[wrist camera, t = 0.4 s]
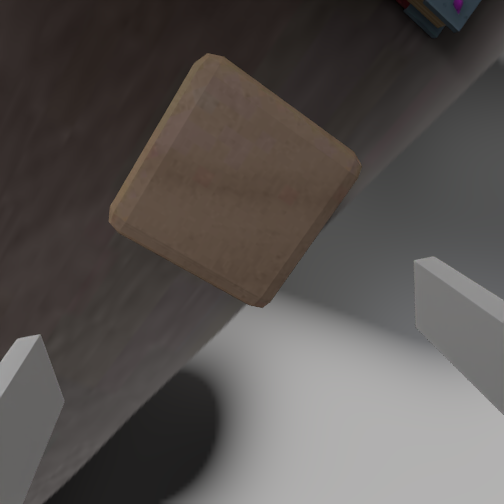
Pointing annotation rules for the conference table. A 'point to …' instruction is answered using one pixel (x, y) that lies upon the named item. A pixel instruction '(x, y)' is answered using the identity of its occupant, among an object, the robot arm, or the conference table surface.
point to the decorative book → (439, 14)
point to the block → (233, 183)
